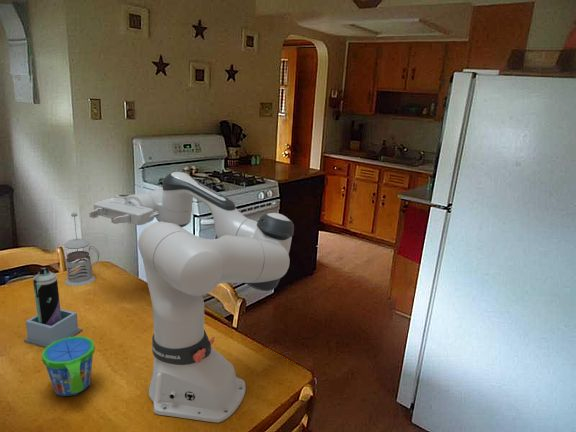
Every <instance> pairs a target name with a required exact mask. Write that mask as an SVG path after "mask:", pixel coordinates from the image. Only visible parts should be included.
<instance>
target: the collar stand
mask: <svg viewBox="0 0 576 432" xmlns="http://www.w3.org/2000/svg"><path fill="white" fill-rule="evenodd" d="M60 311H61V321H59V322H57V323H56V324H54V325H52V326H49V325H45V324H42V323H38V316H37V315H34V316H33V317H31V318H29V319H27V320H26V321H25V327H26V333H27V337H25V338H24V339H23V342H24V343H27V344H31V345H34V346H36V347H37V346H38V347H42V348H44V349H45V348H46V347H47V346H49V345H50V344H52V343H53V342H55V341H58V340H60V339H64V338H68V337H75V336H77V335H79V334H80V333H82V332H83V328H79V324H78V323H79V322H78V315H77V314H78V313H77V312H76V311H75V312H74V311H71V310H68V309H67V310H66V309H63V308H60Z"/></svg>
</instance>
